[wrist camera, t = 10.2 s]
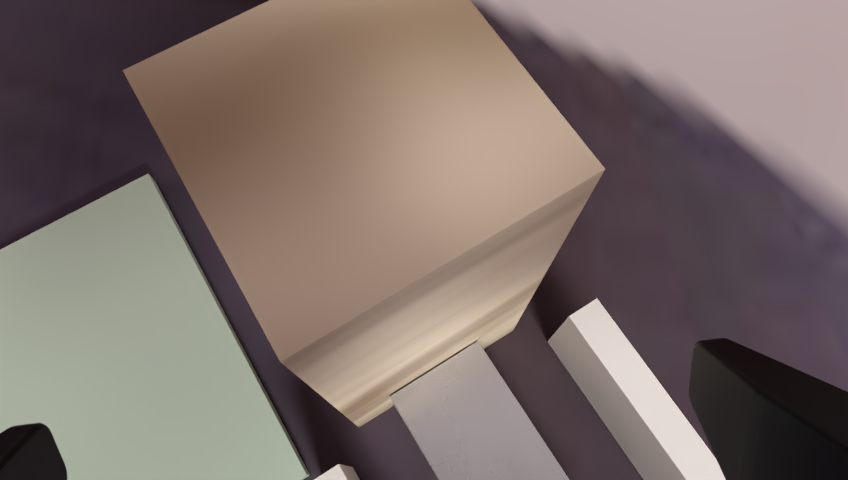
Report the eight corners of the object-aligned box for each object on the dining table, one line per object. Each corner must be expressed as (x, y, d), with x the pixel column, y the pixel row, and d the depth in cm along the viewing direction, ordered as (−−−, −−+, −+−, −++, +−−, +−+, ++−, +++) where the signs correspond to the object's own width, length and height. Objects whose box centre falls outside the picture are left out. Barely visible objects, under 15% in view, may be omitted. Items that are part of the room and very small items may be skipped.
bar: (598, 554, 20) (626, 567, 17) (517, 614, 19) (532, 637, 16) (471, 358, 22) (477, 340, 19) (394, 407, 21) (389, 396, 18)
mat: (310, 475, 20) (306, 474, 20) (-70, 717, 18) (-86, 725, 17) (154, 180, 24) (148, 173, 23) (-178, 352, 22) (-194, 349, 21)
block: (513, 330, 22) (605, 169, 11) (359, 427, 21) (280, 361, 10) (419, 192, 24) (414, -69, 12) (273, 275, 23) (122, 70, 11)
